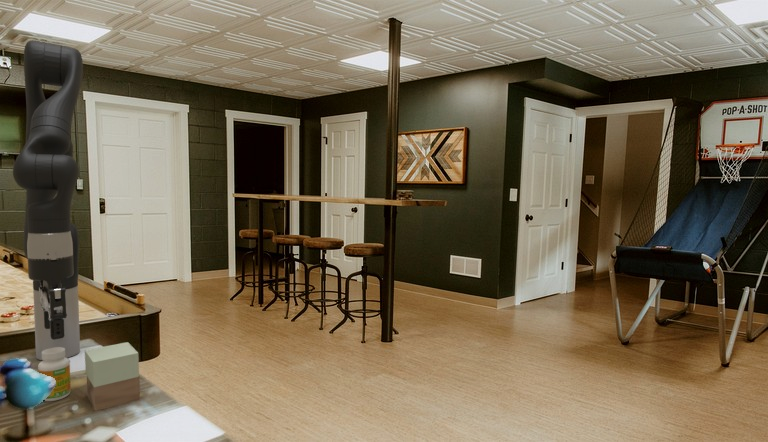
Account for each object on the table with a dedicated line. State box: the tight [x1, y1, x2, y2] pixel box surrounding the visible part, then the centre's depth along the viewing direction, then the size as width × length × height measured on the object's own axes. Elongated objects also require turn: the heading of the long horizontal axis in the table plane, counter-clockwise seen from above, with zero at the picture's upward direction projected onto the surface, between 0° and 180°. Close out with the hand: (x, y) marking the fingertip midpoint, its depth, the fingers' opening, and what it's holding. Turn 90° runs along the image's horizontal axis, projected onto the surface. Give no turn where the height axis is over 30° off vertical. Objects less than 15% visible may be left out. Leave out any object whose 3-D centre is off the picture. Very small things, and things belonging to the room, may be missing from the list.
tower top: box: [84, 341, 140, 387], centre depth 98 cm, size 8×8×5 cm
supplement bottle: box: [37, 347, 72, 402], centre depth 99 cm, size 5×5×10 cm
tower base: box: [86, 376, 141, 412], centre depth 99 cm, size 8×8×5 cm
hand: (54, 333), depth 98 cm, fingers open, 8 cm apart
